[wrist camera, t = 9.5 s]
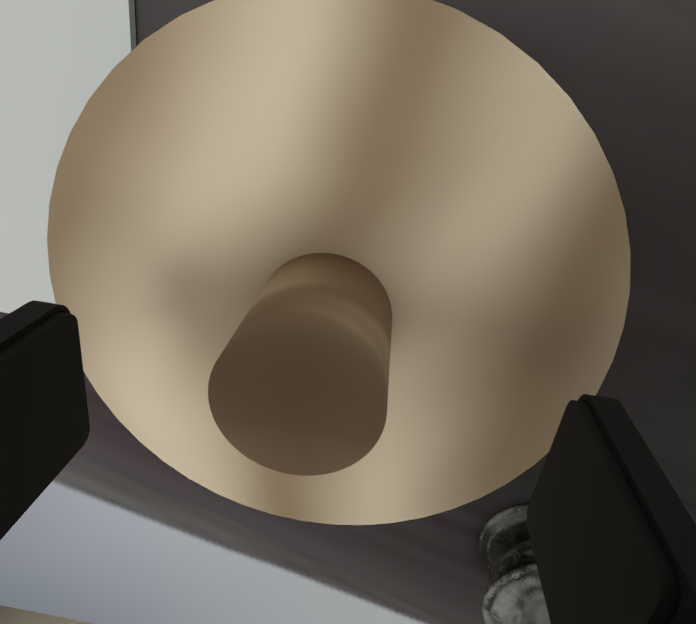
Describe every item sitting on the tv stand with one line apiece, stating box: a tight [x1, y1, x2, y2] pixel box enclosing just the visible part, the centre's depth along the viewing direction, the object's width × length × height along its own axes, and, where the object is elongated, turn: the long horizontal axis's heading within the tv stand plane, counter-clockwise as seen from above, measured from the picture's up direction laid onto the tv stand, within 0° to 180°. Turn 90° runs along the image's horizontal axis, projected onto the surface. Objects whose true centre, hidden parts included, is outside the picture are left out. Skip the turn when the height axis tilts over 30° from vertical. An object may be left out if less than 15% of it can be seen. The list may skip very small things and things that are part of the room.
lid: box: [47, 0, 631, 525], centre depth 12 cm, size 15×15×5 cm
